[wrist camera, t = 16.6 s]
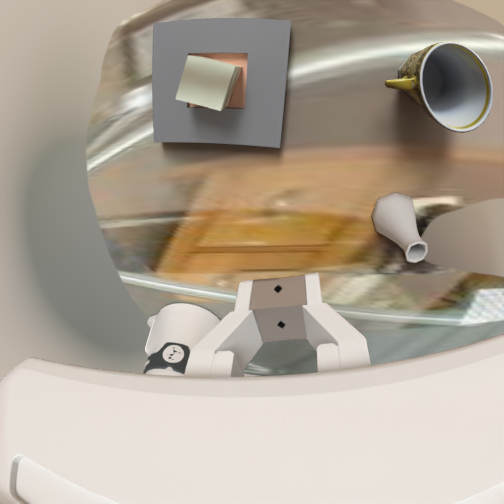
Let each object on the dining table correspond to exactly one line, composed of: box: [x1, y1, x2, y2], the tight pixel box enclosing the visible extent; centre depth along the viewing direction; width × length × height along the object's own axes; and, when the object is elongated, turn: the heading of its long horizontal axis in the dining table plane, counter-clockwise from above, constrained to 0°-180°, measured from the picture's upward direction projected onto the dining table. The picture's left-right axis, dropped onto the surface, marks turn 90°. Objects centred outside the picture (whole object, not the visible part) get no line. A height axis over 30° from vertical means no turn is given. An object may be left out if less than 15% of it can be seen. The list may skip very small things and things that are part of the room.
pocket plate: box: [152, 18, 291, 148], centre depth 31 cm, size 16×16×2 cm
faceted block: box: [176, 55, 242, 111], centre depth 28 cm, size 5×5×6 cm
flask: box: [372, 192, 428, 263], centre depth 36 cm, size 7×7×10 cm
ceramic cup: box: [385, 41, 493, 133], centre depth 24 cm, size 13×10×10 cm
